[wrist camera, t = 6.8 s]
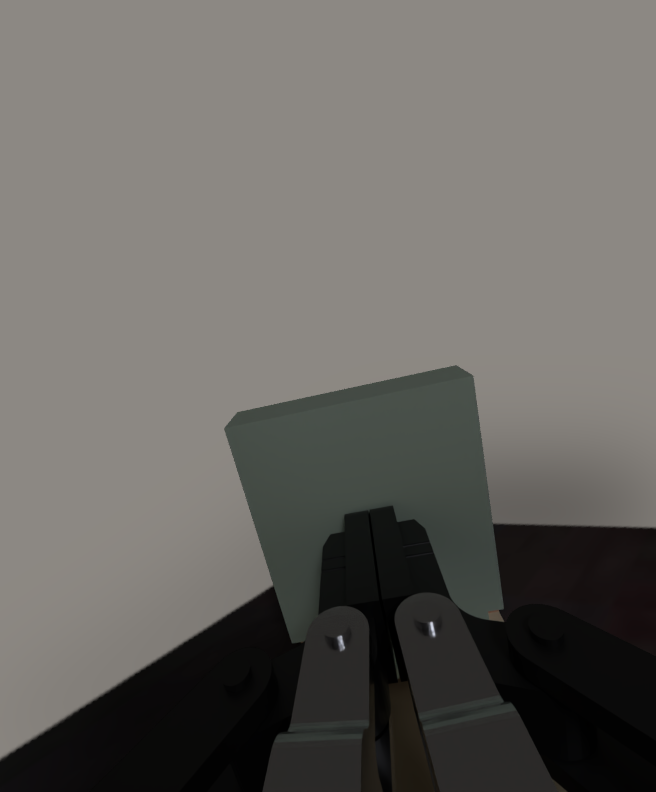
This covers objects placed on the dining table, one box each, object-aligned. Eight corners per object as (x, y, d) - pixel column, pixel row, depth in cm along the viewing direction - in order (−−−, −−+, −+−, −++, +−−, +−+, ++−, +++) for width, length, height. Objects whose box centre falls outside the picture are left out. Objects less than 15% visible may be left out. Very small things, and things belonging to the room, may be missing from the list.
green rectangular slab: (307, 692, 13) (224, 428, 11) (311, 630, 16) (244, 403, 13) (510, 661, 13) (473, 375, 10) (482, 602, 15) (446, 359, 13)
